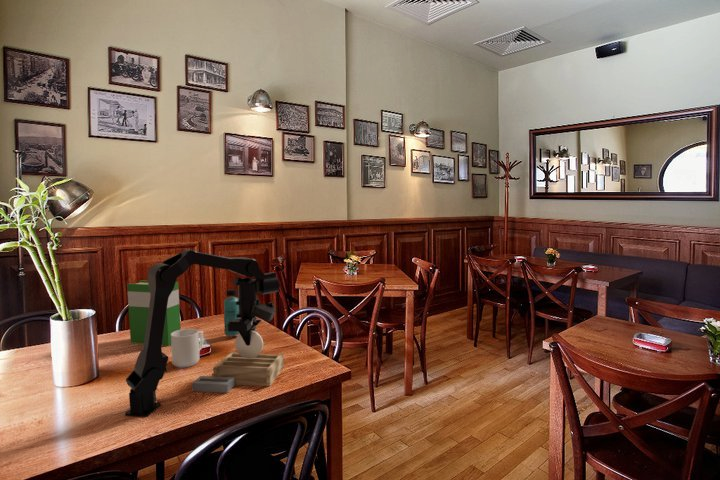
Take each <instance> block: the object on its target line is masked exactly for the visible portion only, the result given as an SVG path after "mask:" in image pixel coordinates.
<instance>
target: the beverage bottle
mask: <svg viewBox="0 0 720 480" xmlns="http://www.w3.org/2000/svg"><path fill="white" fill-rule="evenodd" d="M225 294H226V296H228V297H226V298H225V299H224V300H223V309H224V311H223V315H224V317H223V318H224V319H223V321H224V322H223V324H224V334H225V336H229V337H230V336H233V337H234V336H238V335H239V334H240V333H239V332H238V331H227V324H228V323H229V322H230V321H232V320H233V319H241V318H237V314H238V313H239V305H236V301H238V296H237V295H238V292H237V289H236V288H234V289H232V288H231V289H227V290H226V293H225Z"/></svg>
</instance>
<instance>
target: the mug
mask: <svg viewBox="0 0 720 480" xmlns="http://www.w3.org/2000/svg"><path fill="white" fill-rule="evenodd" d="M170 346H171V348H170V349H171V362H172V365H173V366H174V367H176V368H180V369H181V368H183V369H184V368H189V367H193V366H195V365H197V364H198V362H199V361H200V358H201V356H200V351H201V350H202V349H203V347H204V330H198V329H197V328H183V329H182V328H181V330H177V331H174V332H172V333H171V345H170Z"/></svg>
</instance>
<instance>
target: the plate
mask: <svg viewBox="0 0 720 480" xmlns="http://www.w3.org/2000/svg"><path fill="white" fill-rule="evenodd" d="M234 346H235V350H236V351H237V352H236V353H239V354H240V355H241V356H243V357H245V358H254V357H256V356H258V355H259V354H262V351H263V348H264V340H263V337H262V336H261V335H260V333H258V332H257V331H256V330H255V331H253V330H252V333H251V341H250V345H249V346H248V345H246V344H245V342H244V340H243V338H242V337H241V335H240V333H239V334H238V335H236V338H235V342H234Z"/></svg>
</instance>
